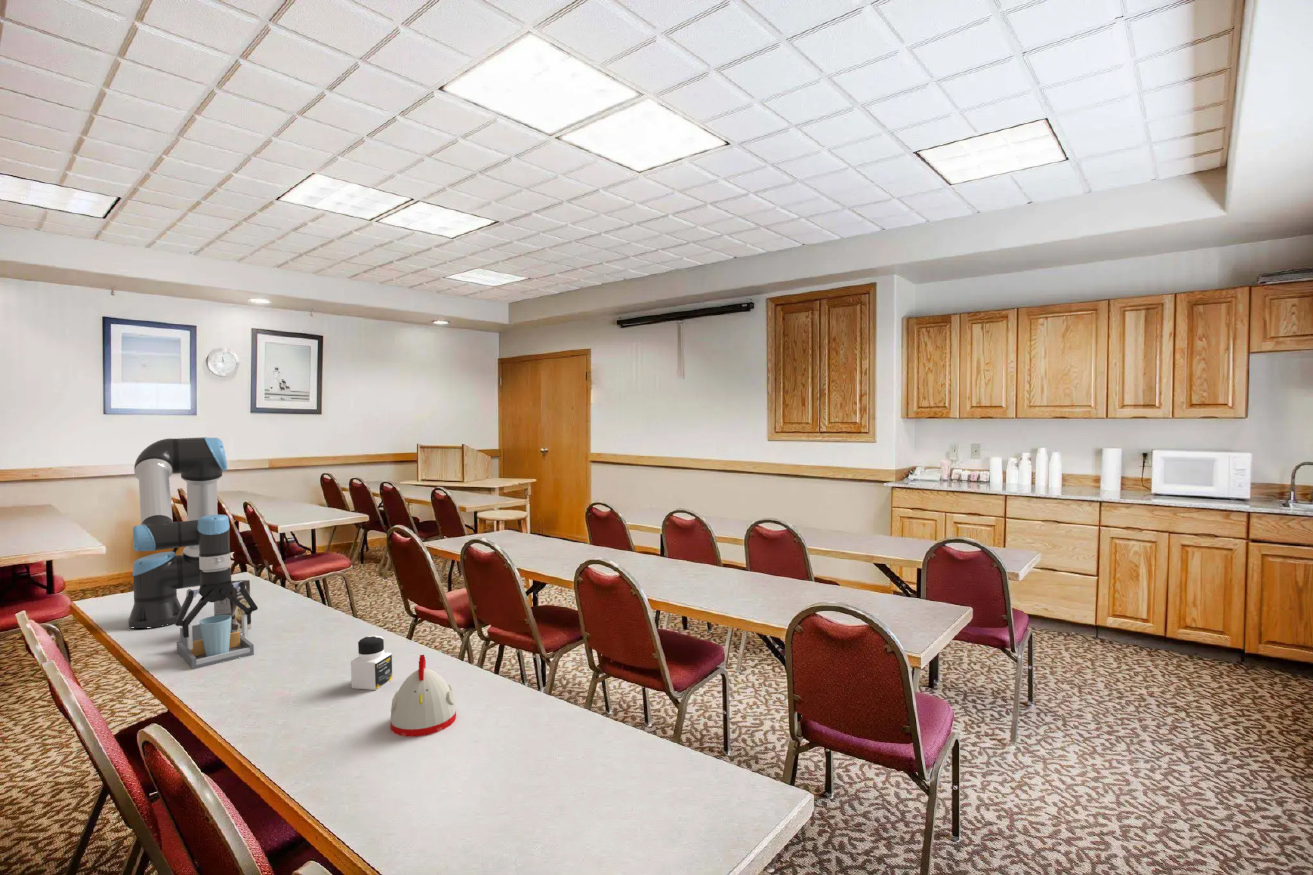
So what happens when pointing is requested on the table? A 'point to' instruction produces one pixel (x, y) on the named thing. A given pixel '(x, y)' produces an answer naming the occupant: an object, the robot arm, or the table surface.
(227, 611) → the coffee box
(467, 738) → the table surface
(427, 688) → the kitchen timer
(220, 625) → the cup
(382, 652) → the medicine bottle
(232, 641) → the pusher
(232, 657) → the grey open rectangular box
